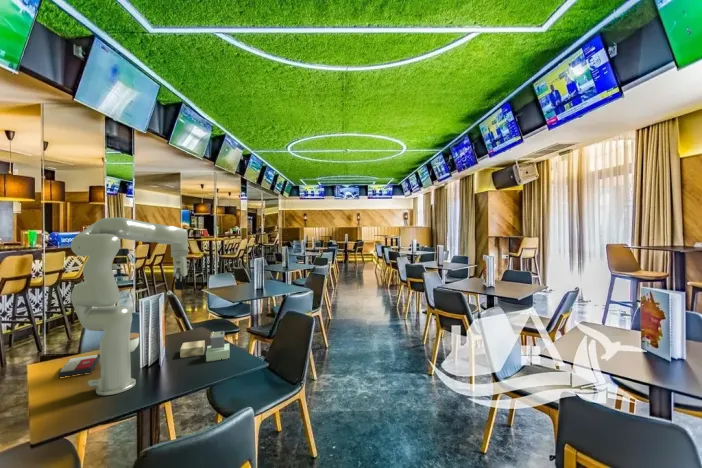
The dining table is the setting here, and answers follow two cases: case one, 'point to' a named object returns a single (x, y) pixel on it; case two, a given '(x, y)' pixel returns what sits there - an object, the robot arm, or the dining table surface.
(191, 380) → the dining table surface
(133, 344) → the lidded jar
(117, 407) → the dining table surface
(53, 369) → the dining table surface
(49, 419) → the dining table surface
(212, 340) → the block
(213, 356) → the stand
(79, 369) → the red and grey box
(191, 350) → the stand
